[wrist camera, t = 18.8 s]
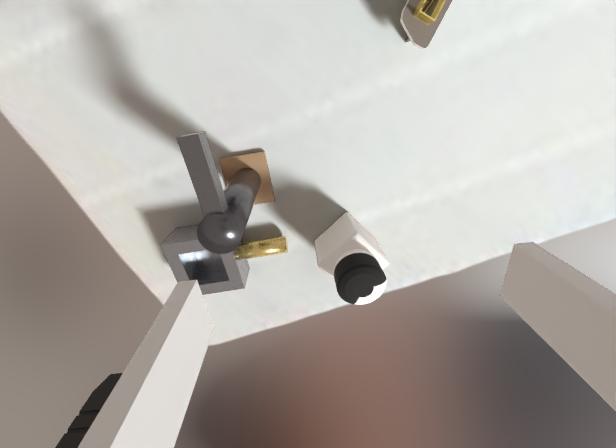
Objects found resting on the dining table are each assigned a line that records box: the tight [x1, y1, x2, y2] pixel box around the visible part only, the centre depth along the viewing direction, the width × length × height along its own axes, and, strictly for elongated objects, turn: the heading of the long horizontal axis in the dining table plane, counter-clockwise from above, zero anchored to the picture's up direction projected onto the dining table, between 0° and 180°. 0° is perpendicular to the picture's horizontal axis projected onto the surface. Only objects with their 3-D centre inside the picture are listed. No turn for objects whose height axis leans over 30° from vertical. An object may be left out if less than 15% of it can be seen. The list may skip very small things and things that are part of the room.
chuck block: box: [161, 225, 288, 295], centre depth 39 cm, size 9×16×5 cm, turn 99°
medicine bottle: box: [314, 212, 390, 305], centre depth 37 cm, size 7×7×12 cm
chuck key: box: [177, 131, 261, 254], centre depth 28 cm, size 10×4×16 cm, turn 9°
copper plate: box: [219, 151, 275, 204], centre depth 37 cm, size 7×6×1 cm
